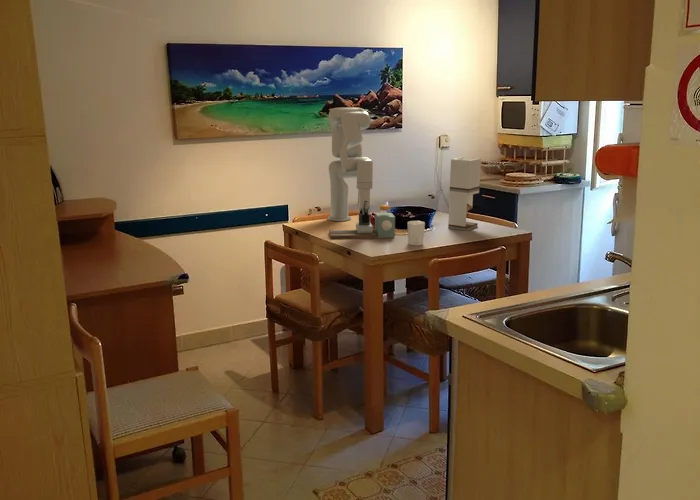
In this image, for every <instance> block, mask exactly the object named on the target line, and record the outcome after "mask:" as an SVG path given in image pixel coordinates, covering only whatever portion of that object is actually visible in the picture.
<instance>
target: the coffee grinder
mask: <svg viewBox="0 0 700 500" xmlns="http://www.w3.org/2000/svg"><path fill="white" fill-rule="evenodd" d="M481 163H482V158H475V159H464V157H455V158H451V159H450V171H449V173H450V176H449V178H450V179H449V195H448V197H449V198H448V199H449V200H448V219H447V220H448V223H447V228H448V229H450V230H452V229H453V230H456V231H457V230H459V231H464V230H466V232H467V230H468V231H470V229H471V230H474V229H476V228H478V225H479V223H477V222H472V221H467V212H468V211H470V210H472V209H473V201H474V199H473V198H474V195H476V194H480V183H481ZM473 228H474V229H473Z"/></svg>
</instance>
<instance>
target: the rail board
mask: <svg viewBox="0 0 700 500" xmlns="http://www.w3.org/2000/svg"><path fill="white" fill-rule="evenodd" d="M328 234H329V237H330V239H331V240H342V239H343V240H344V239H345V240H349V239H351V240H352V239H355V240H356V239H377V238H378V237H377V234H376V232H375V229H373V231H372V233H357V230H356V229H336V230H335V229H333V230H332V229H331V230H329V231H328Z"/></svg>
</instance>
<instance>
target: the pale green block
mask: <svg viewBox="0 0 700 500" xmlns="http://www.w3.org/2000/svg"><path fill="white" fill-rule="evenodd" d="M395 229H396V216H395V215H394V214H393V213H392V212H375V213H374V230H375V232H376V234H377V238H378V239H384V238H385V239H386V238H394V239H395V237H396V235H395V233H396V230H395Z"/></svg>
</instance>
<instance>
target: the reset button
mask: <svg viewBox="0 0 700 500" xmlns="http://www.w3.org/2000/svg"><path fill="white" fill-rule="evenodd" d="M379 210H381V211H390V210H391V205H389V204H381V205H379Z"/></svg>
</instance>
